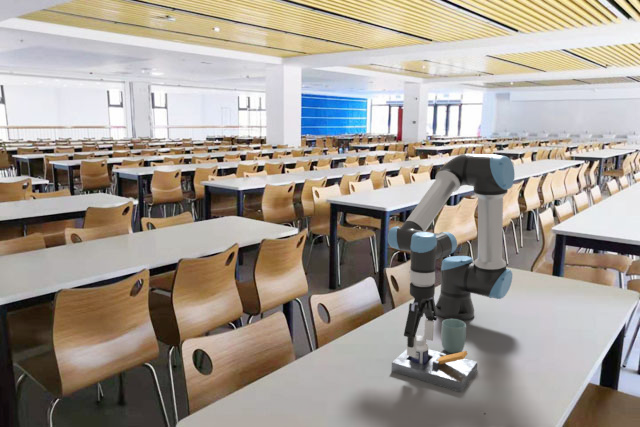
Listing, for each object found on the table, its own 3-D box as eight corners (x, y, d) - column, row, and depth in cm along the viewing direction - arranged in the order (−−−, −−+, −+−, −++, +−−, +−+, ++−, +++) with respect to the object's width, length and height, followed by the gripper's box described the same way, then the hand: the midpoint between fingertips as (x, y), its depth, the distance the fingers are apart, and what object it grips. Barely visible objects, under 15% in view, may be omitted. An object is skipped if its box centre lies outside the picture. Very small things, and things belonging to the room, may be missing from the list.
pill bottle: (425, 362, 165) (426, 334, 163) (429, 370, 160) (430, 341, 158) (408, 363, 165) (409, 334, 163) (412, 371, 160) (413, 342, 158)
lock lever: (439, 360, 161) (438, 356, 161) (468, 354, 155) (466, 349, 155) (434, 366, 157) (432, 362, 157) (463, 360, 152) (461, 355, 152)
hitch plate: (411, 353, 172) (411, 339, 171) (476, 370, 160) (477, 356, 159) (391, 371, 160) (391, 356, 159) (460, 392, 148) (461, 376, 147)
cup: (448, 357, 169) (449, 329, 167) (436, 347, 176) (437, 320, 174) (469, 354, 171) (470, 326, 169) (456, 344, 178) (458, 317, 176)
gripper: (426, 270, 170) (424, 330, 174) (393, 292, 149) (392, 360, 154) (448, 274, 166) (446, 335, 170) (417, 297, 145) (415, 366, 149)
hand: (420, 347), depth 162 cm, fingers open, 13 cm apart
